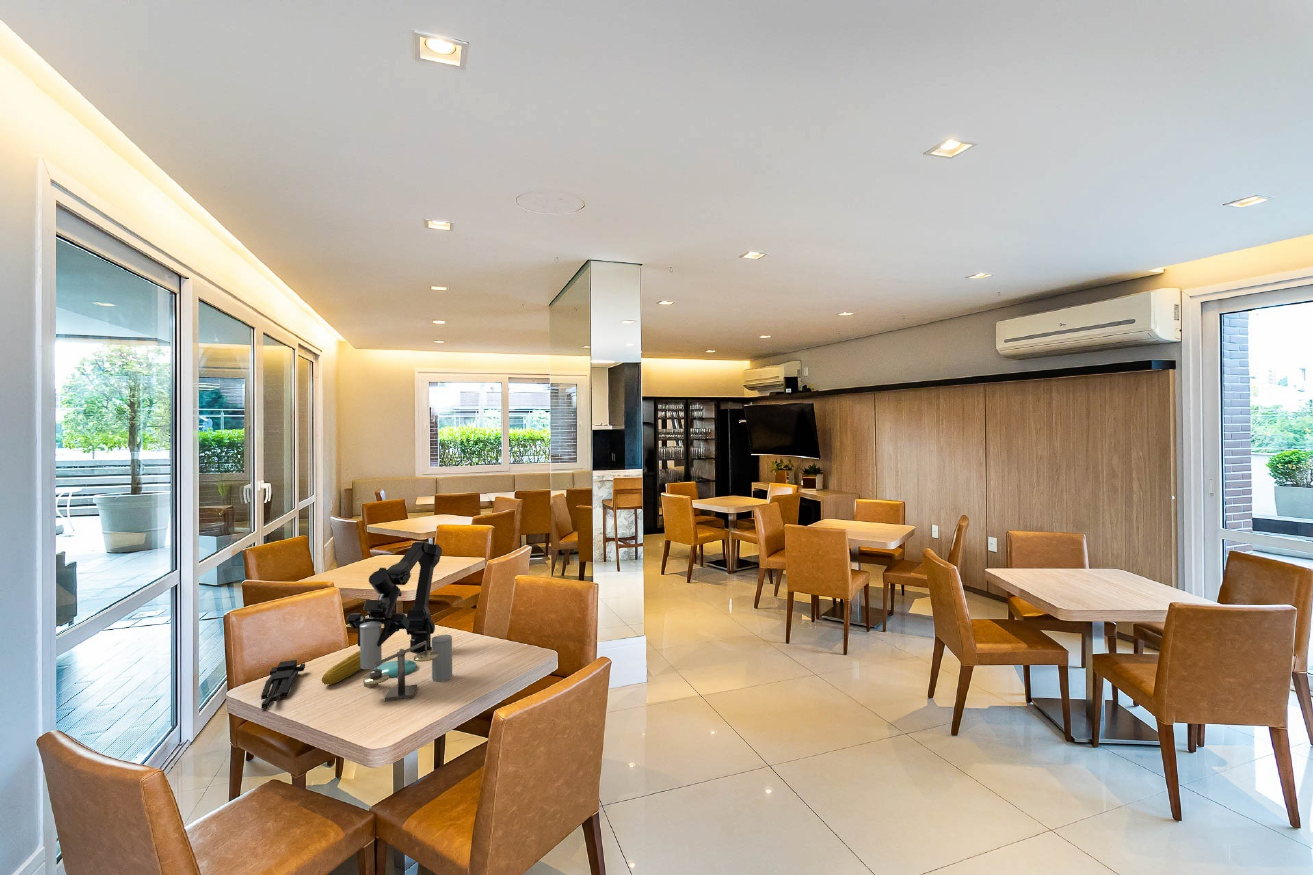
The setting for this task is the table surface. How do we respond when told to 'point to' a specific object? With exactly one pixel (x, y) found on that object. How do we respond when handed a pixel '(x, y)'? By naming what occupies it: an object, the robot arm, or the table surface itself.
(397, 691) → the balance
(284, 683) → the toy
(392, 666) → the dish
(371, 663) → the cup
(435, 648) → the cup
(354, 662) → the food
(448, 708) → the table surface
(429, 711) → the table surface
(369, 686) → the block
